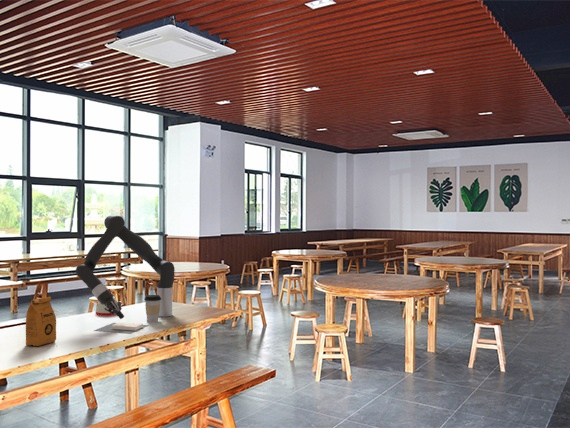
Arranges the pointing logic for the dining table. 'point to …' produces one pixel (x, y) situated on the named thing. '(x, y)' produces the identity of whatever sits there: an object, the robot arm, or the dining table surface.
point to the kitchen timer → (101, 310)
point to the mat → (109, 329)
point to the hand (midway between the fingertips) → (122, 317)
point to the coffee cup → (152, 307)
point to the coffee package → (40, 323)
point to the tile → (127, 326)
